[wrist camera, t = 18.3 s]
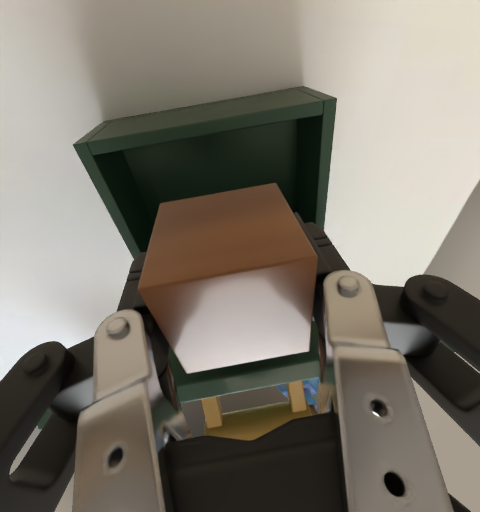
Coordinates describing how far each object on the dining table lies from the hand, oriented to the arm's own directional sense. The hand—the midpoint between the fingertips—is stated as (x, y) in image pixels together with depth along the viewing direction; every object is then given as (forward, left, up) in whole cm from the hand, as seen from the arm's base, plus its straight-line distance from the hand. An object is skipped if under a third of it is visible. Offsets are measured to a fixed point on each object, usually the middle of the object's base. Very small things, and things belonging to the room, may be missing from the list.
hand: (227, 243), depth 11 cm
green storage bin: (+4, -1, -15) cm, 15 cm away
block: (0, 0, 0) cm, 0 cm away
